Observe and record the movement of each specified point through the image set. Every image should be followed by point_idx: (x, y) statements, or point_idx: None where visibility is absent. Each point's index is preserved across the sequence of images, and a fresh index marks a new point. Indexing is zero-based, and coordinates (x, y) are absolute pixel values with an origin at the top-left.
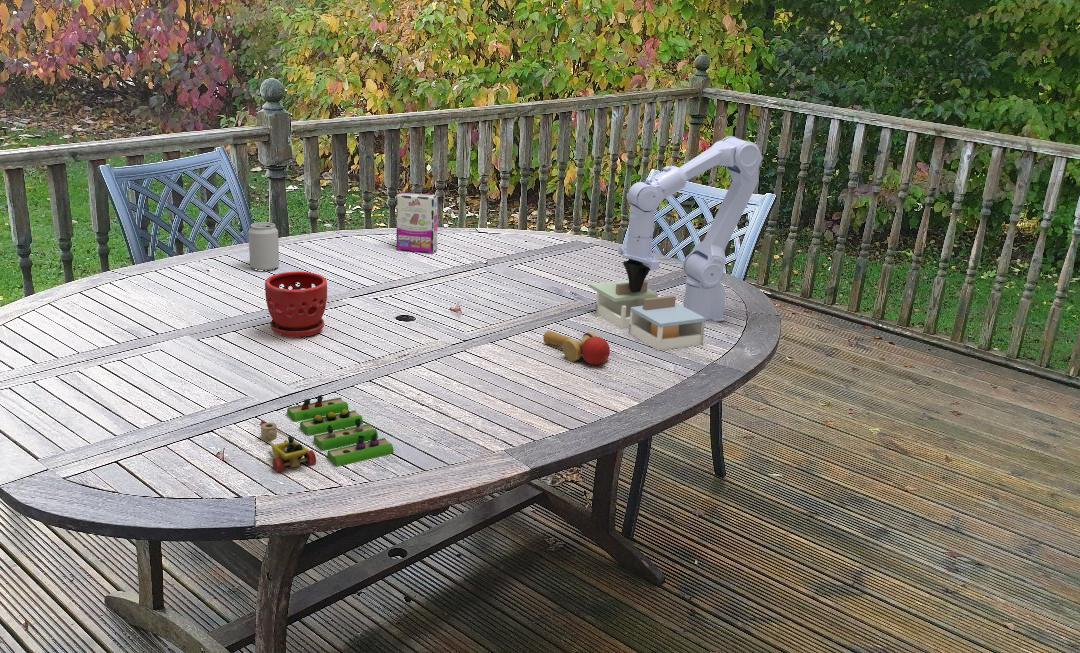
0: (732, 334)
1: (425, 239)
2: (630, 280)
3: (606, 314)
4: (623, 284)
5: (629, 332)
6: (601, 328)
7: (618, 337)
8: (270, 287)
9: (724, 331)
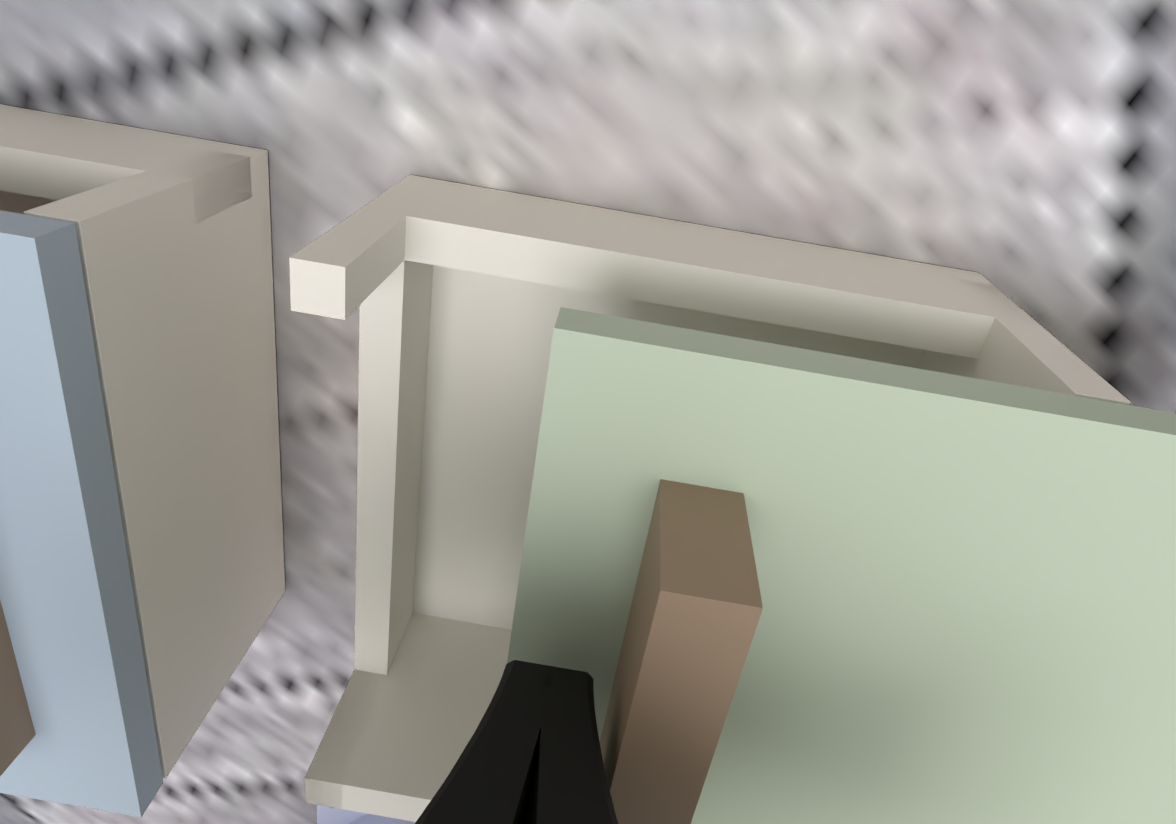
0: (92, 819)
1: None
2: (536, 811)
3: (751, 258)
4: (666, 685)
5: (229, 154)
6: (602, 30)
7: (257, 4)
8: None
9: (157, 821)
